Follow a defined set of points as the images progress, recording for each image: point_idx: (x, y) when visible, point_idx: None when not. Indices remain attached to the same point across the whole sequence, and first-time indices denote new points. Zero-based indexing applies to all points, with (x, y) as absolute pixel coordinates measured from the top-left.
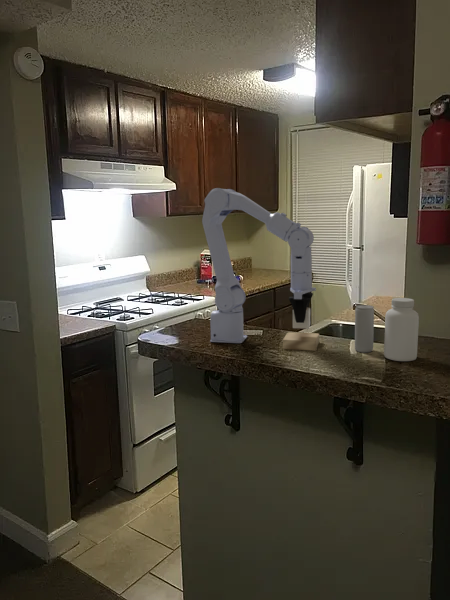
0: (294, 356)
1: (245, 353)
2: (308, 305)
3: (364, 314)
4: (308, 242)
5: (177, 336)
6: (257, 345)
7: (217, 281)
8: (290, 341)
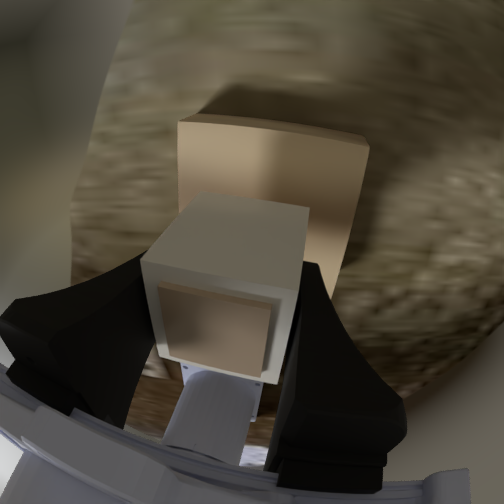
0: (446, 238)
1: (375, 368)
2: (128, 287)
3: None
4: None
5: None
6: None
7: None
8: (339, 267)
